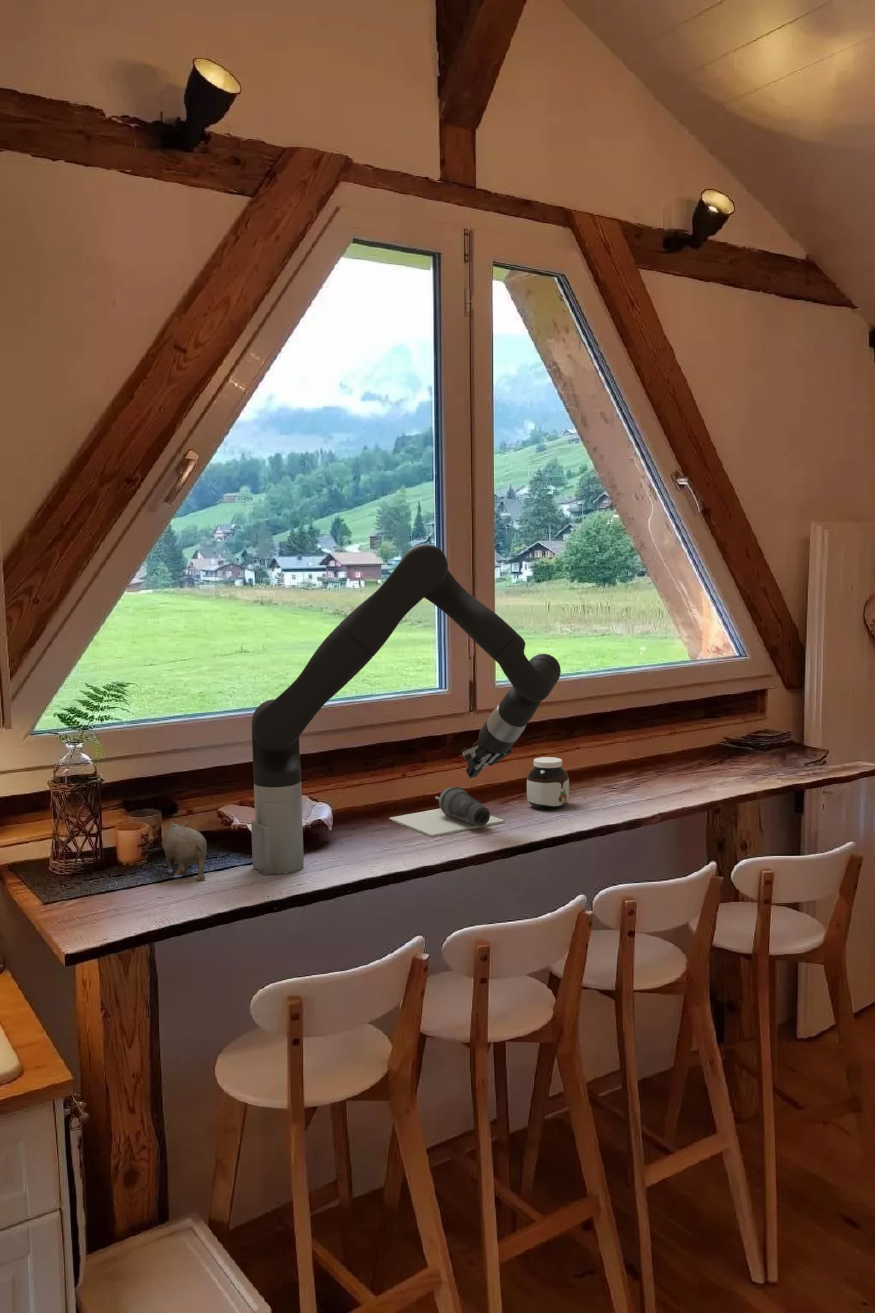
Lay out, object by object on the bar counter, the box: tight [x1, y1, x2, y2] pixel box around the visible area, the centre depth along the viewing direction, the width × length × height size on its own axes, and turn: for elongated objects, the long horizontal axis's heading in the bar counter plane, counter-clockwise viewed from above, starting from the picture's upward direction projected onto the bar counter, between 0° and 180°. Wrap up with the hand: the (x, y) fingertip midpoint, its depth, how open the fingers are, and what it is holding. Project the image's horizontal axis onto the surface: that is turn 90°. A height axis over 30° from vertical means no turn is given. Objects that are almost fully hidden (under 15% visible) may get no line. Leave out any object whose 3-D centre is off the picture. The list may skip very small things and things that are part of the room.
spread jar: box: [526, 756, 570, 812], centre depth 245 cm, size 12×11×12 cm
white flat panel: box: [388, 808, 506, 838], centre depth 232 cm, size 20×18×1 cm
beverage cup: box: [434, 786, 491, 828], centre depth 231 cm, size 7×7×20 cm
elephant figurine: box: [161, 821, 208, 881], centre depth 197 cm, size 8×14×15 cm
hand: (470, 774), depth 222 cm, fingers closed
